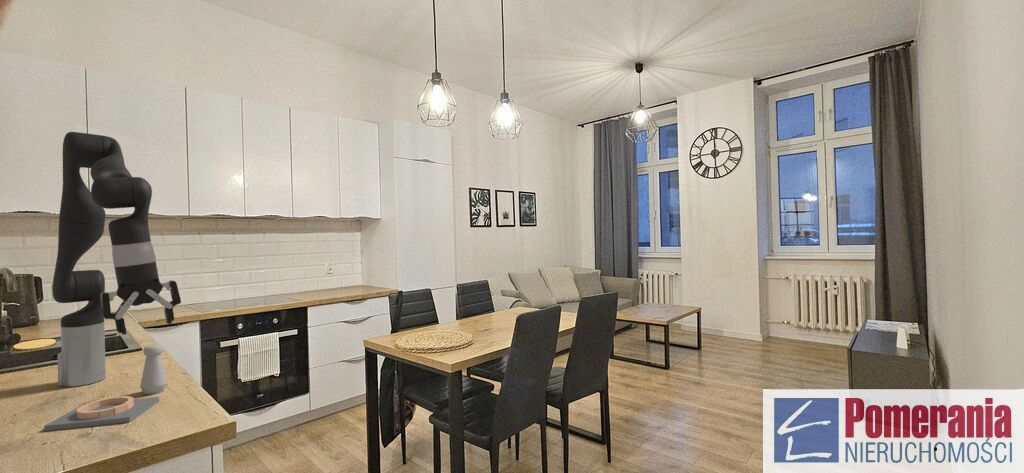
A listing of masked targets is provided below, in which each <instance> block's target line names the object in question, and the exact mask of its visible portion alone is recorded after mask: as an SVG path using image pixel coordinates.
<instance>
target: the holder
mask: <svg viewBox="0 0 1024 473" xmlns="http://www.w3.org/2000/svg"><path fill="white" fill-rule="evenodd" d="M159 402H160V397H159V396H154V397H153V396H151V397H144V398H134V397H133V396H128V395H122V396H110V397H107V398H101V399H98V400H97V399H96V400H94V401H90V402H88V403H84V404H81V405H80V406H77V407H76V408H74V409H72V410H71V411H68V412H67V413H65V414H63V415H61V416H60V417H58V418H56V419H55V420H52V421H51V422H50V421H49V423H47V424H45V425H44V426H43V427H44V428H43V429H44V432H50V431H59V430H61V431H62V430H67V429H77V428H78V429H79V428H88V427H97V426H108V425H119V424H126V423H128V424H129V423H131V422H132V421H133V420H135V419H137V418H138V417H139V416H140V415H142V414H143V413H145V412H146V411H148V410H149V409H151V408H152V407H154V406H155V405H156V404H158V403H159Z"/></svg>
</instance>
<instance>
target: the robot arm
mask: <svg viewBox="0 0 1024 473" xmlns="http://www.w3.org/2000/svg"><path fill="white" fill-rule="evenodd" d="M81 168H83V169H85V168H86V169H90V176H91V178H92V185H91V188H90V189H89V188H88V186H87V185H86V183H85V182H84V180H83V178H82V176H81V170H80V169H81ZM152 189H153V188H152V186H151V184H150V183H149V182H148V180H146V179H145V178H143V177H141V176H138V177H137V176H132V174H131V172H130V171H129V169H128V168H127V167H126V164H125V159H124V154H123V151H122V149H121V145H120V143H119V141H117V140H116V139H115V138H114V137H111V136H107V135H100V134H93V133H87V132H80V131H79V132H78V131H68V132H67V133H66V134H65V135H64V138H63V142H62V190H61V191H62V192H61V193H62V194H61V200H60V208H59V216H58V239H57V256H56V262H55V266H54V273H53V280H52V287H51V291H52V297H53V300H54V301H55V302H57V303H59V304H70V303H71V304H72V303H80V302H87V304H85V306H84V307H82V308H80V309H78V310H76V311H74V312H70V313H69V314H65V315H64V316H62V317H61V318H60V338H61V340H60V341H61V343H60V344H61V346H60V348H61V349H60V350H61V351H60V352H59V353H57V386H58V387H68V388H69V387H79V386H86V385H91V384H94V383H98V382H102V381H103V380H105V379H106V377H107V376H106V343H105V342H106V341H105V340H106V339H105V334H106V333H105V320H114V323H115V329H116V331H117V333H118V334H121V335H122V336H124V335H127V327H126V323H125V319H124V318H123V316H124V315H125V314H126V312H127V311H128V310H129V309H130V307H131V306H135V307H137V306H141V305H143V304H145V305H146V304H147V305H148V304H152V303H153V302H155V301H156V302H158V303H159V304H160V305H161V306H163V307H164V309H163V311H164V317H165V322H166V324H167V325H171V324H172V323H173V322H174V320H175V315H174V307H175V306H177V305H180V304H181V303H182V299H181V296H180V292H179V288H178V283H177V281H175V280H169V281H166V282H163V283H162V282H161V281H160V278H159V273H158V266H157V260H156V258H157V257H156V255H155V254H156V253H155V250H154V246H153V244H152V240H151V239H152V238H151V234H150V228H149V212H150V206H151V203H152V202H151V201H152V197H153V196H152V195H153V190H152ZM125 208H126V209H128V208H134V211H133V212H132V213H131V214H130V215H128V216H126V217H121V218H117V219H113V220H110V222H109V223H108V232H109V237H110V243H111V256H112V261H113V262H112V263H113V268H114V272H115V279H116V283H117V289H116V291H108V292H106V291H105V290H106V279H105V275H104V273H103V272H102V271H101V270H100V269H88V270H87V269H86V270H74V269H75V266H76V265H77V263H78V261H79V260H80V258H82V256H83V255H85V254H86V252H89V250H90V249H91V248H92V247H93V246H95V245H96V243H97V242H99V241H100V240H101V238H102V236H103V235H104V232H105V223H106V211H105V209H107V210H111V209H112V210H114V209H125ZM164 288H165V290H166V291H169V293H170V296H171V299H172V300H170V301H168V300H166V298H163V297H162V295H160V293H161V291H162V290H163V289H164ZM115 297H118V298H120V299H121V300H122V302H121V303H120V305H119V306H118V308H117V310H116V311H115V312H112V310H111V302H113V301H114V298H115Z"/></svg>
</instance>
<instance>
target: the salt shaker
mask: <svg viewBox="0 0 1024 473" xmlns="http://www.w3.org/2000/svg"><path fill="white" fill-rule="evenodd" d="M142 351H143V355H144V356H145V361H144V367H143V371H142V377H141V381H140V389H141V391H142V392H143V394H144V395H155V394H159V393H162V392H163V391H165V389H166V386H167V384H168V379H167V375H166V371H165V367H164V362H163V358H162V354H161V353H163V352H164V346H163V345H162V344H158V343H155V344H150V345H146V346H145V347H144V348H143V350H142Z"/></svg>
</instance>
